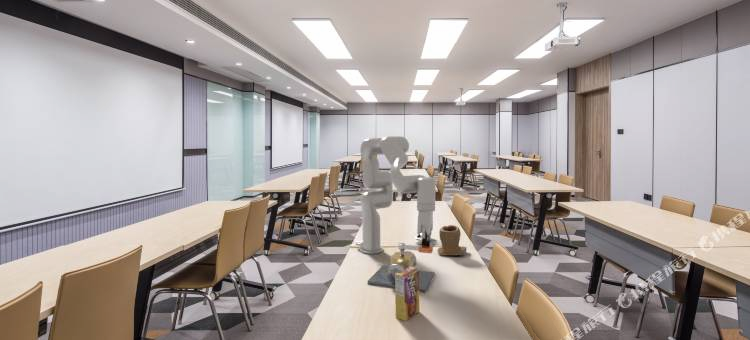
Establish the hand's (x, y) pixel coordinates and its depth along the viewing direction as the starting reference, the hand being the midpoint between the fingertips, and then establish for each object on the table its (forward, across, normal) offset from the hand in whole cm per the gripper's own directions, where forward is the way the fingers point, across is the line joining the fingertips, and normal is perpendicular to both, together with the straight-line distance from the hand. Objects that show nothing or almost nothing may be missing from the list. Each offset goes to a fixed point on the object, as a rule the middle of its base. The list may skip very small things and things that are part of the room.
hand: (425, 249), depth 149 cm
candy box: (+13, +32, +1) cm, 35 cm away
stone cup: (+13, -34, +7) cm, 37 cm away
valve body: (+13, +4, -9) cm, 16 cm away
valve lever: (0, +4, -4) cm, 6 cm away
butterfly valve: (+13, -52, -12) cm, 55 cm away
